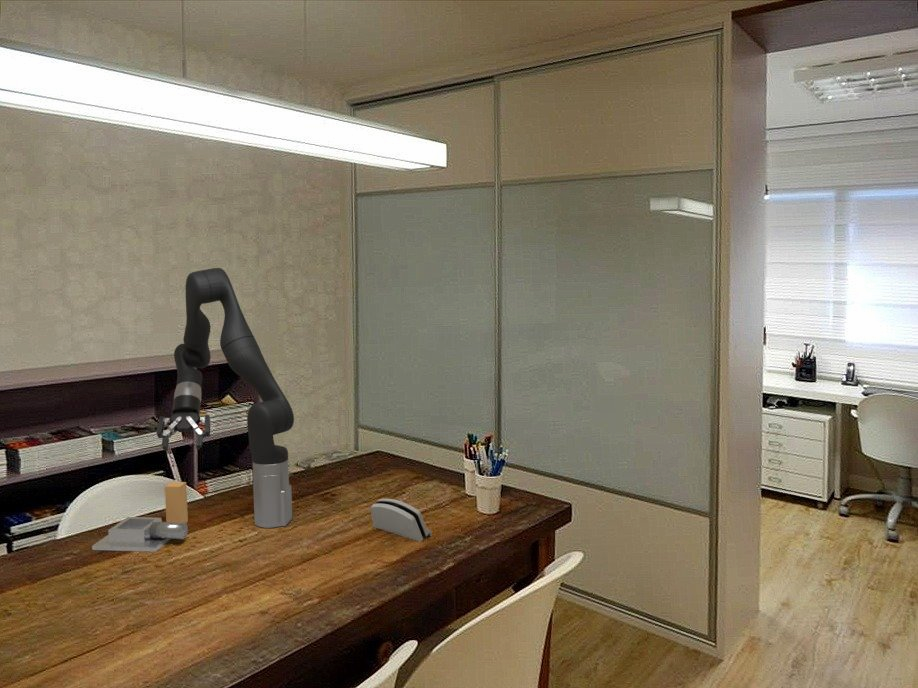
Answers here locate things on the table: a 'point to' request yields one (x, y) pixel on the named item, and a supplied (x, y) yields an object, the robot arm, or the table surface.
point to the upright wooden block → (176, 502)
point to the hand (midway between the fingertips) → (181, 449)
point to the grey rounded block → (399, 519)
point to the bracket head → (141, 534)
